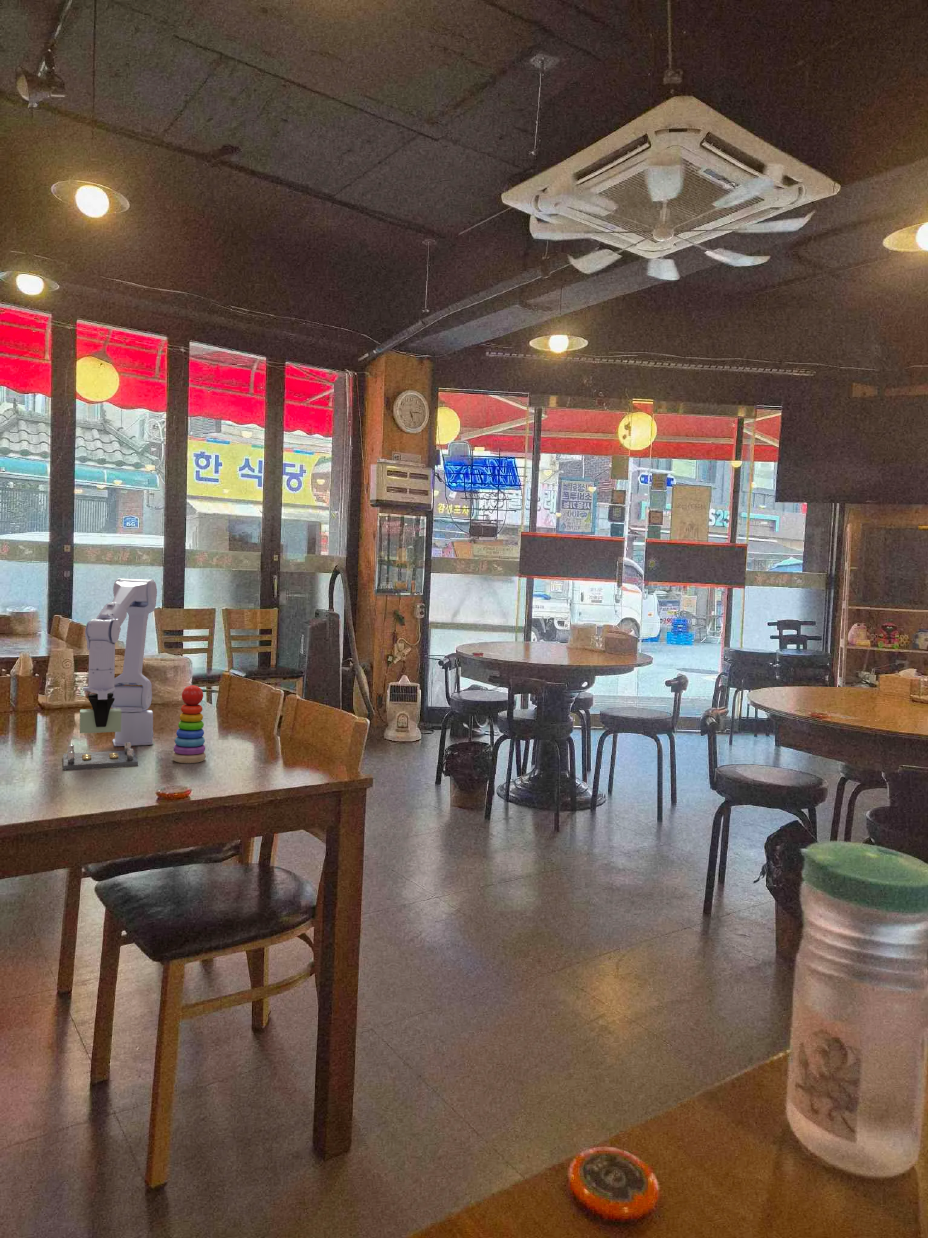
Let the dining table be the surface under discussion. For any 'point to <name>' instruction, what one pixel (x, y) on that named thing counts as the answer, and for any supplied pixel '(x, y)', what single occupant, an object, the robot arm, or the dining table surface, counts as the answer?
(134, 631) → the robot arm
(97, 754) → the plate
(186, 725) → the stacking toy
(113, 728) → the block
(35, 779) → the dining table surface
